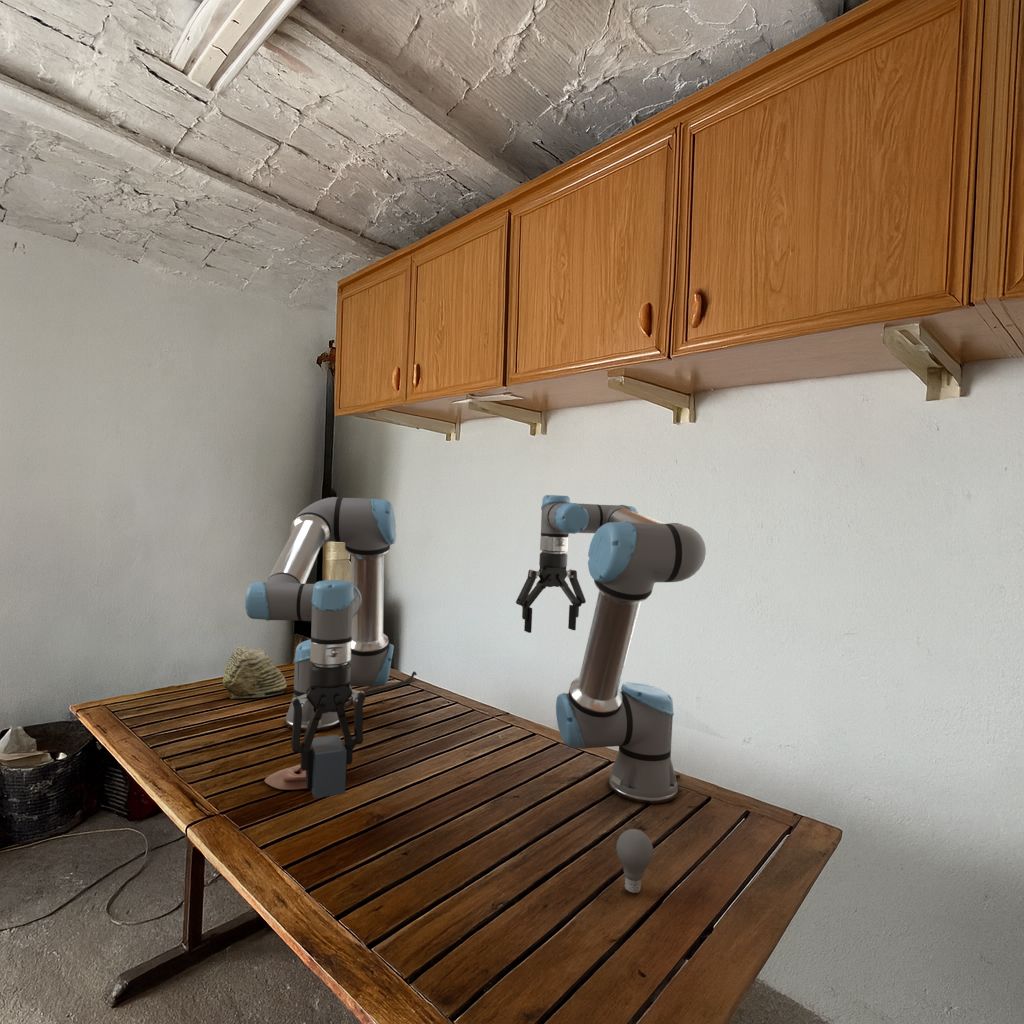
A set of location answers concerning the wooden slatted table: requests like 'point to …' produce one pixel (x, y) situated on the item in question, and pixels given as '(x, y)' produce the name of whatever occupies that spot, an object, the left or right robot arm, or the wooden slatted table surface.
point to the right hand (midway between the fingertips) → (550, 630)
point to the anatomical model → (288, 778)
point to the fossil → (252, 674)
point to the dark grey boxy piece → (328, 766)
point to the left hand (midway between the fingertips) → (325, 783)
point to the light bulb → (634, 857)
